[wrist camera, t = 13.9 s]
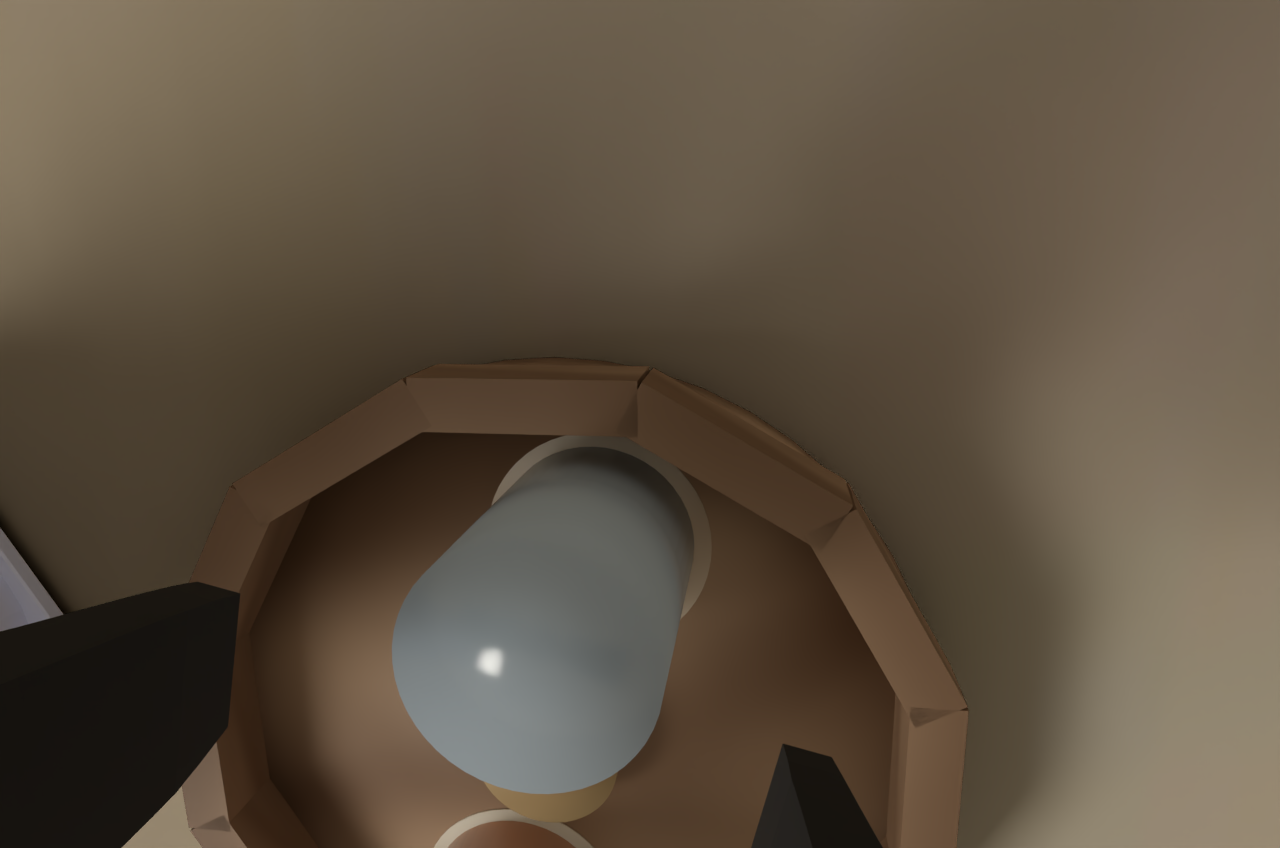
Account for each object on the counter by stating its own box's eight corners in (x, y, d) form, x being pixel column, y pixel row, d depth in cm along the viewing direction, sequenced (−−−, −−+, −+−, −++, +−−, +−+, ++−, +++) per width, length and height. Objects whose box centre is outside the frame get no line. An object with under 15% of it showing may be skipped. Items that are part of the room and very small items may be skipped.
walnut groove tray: (118, 562, 20) (28, 609, 17) (697, 207, 16) (685, 203, 13) (474, 1063, 22) (438, 1168, 19) (1063, 860, 18) (1110, 960, 15)
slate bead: (538, 414, 16) (439, 493, 11) (726, 495, 16) (709, 611, 11) (474, 585, 17) (359, 725, 12) (650, 663, 17) (603, 836, 12)
